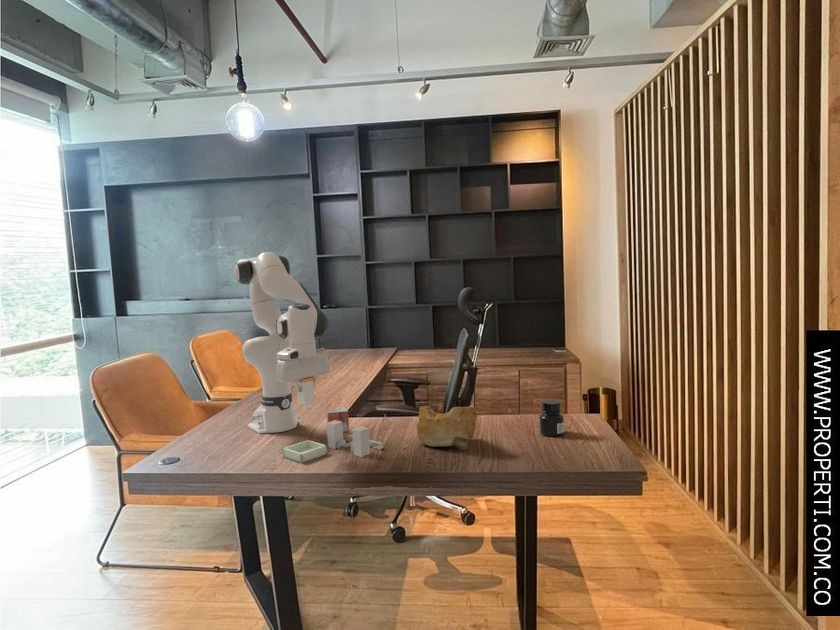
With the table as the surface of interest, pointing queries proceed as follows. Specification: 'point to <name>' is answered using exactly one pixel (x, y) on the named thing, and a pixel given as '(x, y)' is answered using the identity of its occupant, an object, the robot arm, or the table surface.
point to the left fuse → (334, 433)
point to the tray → (304, 451)
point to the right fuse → (361, 441)
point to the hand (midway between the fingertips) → (305, 390)
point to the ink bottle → (551, 419)
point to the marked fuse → (306, 391)
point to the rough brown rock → (446, 427)
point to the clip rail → (350, 438)
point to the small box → (339, 418)
